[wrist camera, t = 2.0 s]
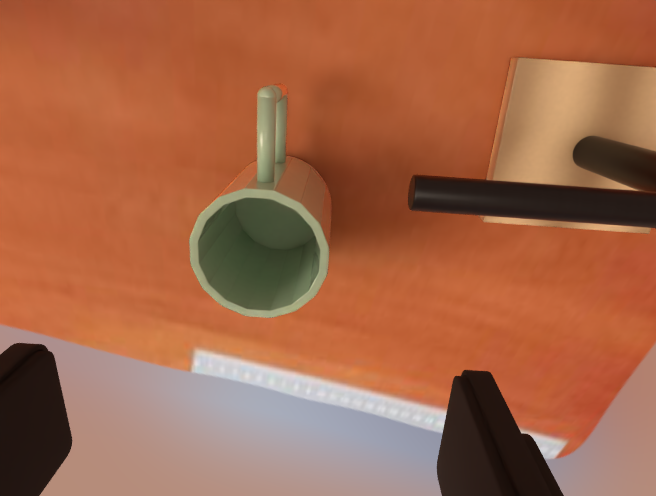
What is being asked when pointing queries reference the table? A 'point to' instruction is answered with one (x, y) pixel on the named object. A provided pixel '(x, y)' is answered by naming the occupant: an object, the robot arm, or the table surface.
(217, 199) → the small mug
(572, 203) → the mug holder
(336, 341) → the table surface
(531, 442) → the robot arm
